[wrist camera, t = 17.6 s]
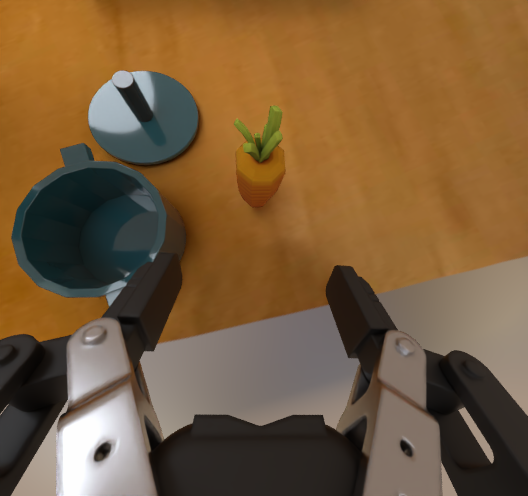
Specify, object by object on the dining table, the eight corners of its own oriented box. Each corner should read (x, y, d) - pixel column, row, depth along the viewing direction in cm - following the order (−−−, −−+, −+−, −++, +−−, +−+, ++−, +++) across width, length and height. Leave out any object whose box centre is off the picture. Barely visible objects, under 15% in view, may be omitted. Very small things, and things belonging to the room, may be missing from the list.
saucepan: (100, 331, 24) (40, 352, 17) (58, 192, 26) (-10, 160, 19) (207, 286, 26) (194, 289, 19) (160, 161, 28) (133, 123, 21)
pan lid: (112, 181, 27) (72, 152, 21) (81, 92, 28) (37, 41, 22) (214, 150, 29) (206, 115, 23) (180, 69, 31) (164, 17, 24)
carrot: (246, 225, 28) (248, 164, 13) (231, 195, 28) (217, 102, 13) (277, 212, 28) (313, 139, 14) (262, 182, 29) (281, 81, 14)
